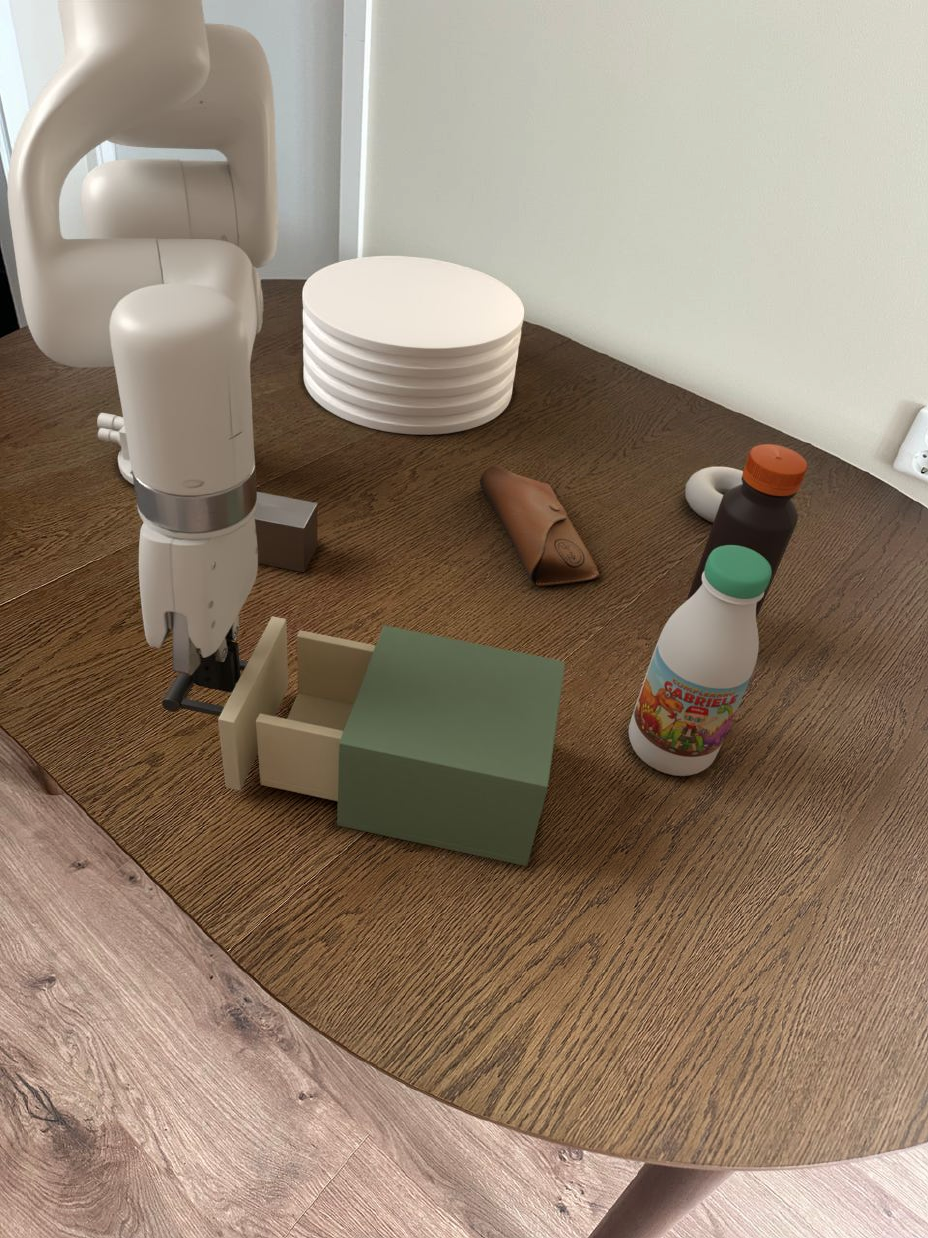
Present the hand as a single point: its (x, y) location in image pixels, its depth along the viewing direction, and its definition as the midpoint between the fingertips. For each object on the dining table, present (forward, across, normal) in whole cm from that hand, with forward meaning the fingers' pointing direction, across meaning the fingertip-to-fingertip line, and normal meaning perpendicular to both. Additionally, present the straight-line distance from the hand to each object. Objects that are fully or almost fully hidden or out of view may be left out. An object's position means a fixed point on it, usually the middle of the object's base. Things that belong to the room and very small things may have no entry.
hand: (217, 681), depth 71 cm
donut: (+6, -48, +43) cm, 64 cm away
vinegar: (+6, -24, +41) cm, 48 cm away
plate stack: (+7, -64, +1) cm, 65 cm away
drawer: (+5, 0, +7) cm, 8 cm away
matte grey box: (+6, -24, -3) cm, 24 cm away
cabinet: (+6, 0, +19) cm, 20 cm away
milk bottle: (+6, -8, +37) cm, 38 cm away
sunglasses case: (+6, -36, +22) cm, 42 cm away
